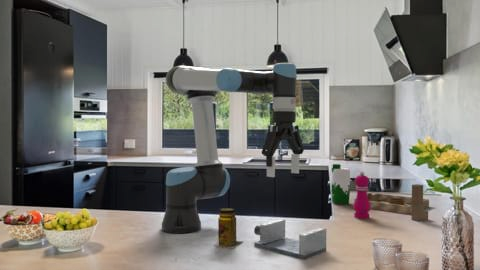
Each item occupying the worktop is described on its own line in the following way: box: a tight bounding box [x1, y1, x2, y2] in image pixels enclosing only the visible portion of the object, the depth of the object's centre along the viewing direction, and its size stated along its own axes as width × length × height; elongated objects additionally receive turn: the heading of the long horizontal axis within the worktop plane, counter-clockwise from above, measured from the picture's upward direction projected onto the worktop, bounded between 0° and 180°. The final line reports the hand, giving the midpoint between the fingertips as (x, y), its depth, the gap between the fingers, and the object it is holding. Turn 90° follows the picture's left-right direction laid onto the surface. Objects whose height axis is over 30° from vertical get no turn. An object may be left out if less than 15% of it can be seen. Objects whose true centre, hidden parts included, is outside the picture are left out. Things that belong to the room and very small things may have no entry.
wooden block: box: [410, 183, 429, 222], centre depth 178 cm, size 7×3×15 cm, turn 117°
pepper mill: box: [352, 171, 372, 220], centre depth 182 cm, size 7×7×20 cm
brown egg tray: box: [353, 193, 430, 215], centre depth 207 cm, size 27×25×4 cm
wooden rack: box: [367, 192, 409, 206], centre depth 207 cm, size 18×20×6 cm
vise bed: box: [254, 227, 327, 260], centre depth 136 cm, size 20×12×7 cm, turn 47°
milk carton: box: [330, 163, 351, 205], centre depth 215 cm, size 9×9×20 cm
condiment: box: [213, 207, 244, 249], centre depth 141 cm, size 7×8×12 cm
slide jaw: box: [253, 218, 286, 244], centre depth 143 cm, size 8×11×6 cm
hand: (283, 174), depth 138 cm, fingers open, 13 cm apart
